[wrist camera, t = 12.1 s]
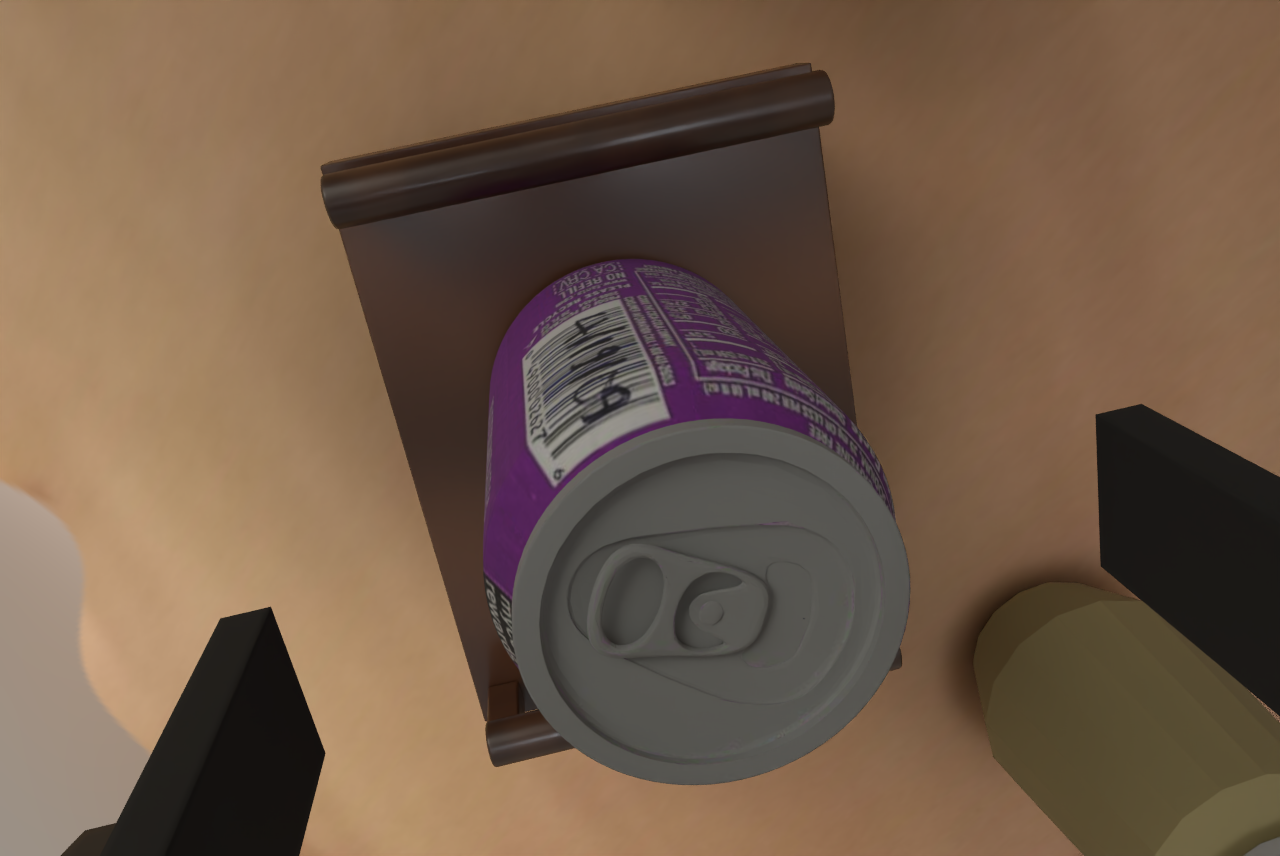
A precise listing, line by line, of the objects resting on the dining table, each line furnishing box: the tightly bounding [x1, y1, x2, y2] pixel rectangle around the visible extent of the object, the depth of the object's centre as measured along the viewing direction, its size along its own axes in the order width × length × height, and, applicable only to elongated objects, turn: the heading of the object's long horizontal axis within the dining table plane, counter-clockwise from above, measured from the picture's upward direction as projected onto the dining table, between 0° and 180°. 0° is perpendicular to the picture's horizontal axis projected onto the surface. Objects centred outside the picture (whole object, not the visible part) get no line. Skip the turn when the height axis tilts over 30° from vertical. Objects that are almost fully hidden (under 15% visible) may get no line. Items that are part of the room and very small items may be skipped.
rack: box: [321, 63, 902, 767], centre depth 29 cm, size 16×12×9 cm
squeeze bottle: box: [973, 582, 1280, 856], centre depth 31 cm, size 8×8×18 cm
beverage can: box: [483, 259, 910, 785], centre depth 21 cm, size 7×7×12 cm
